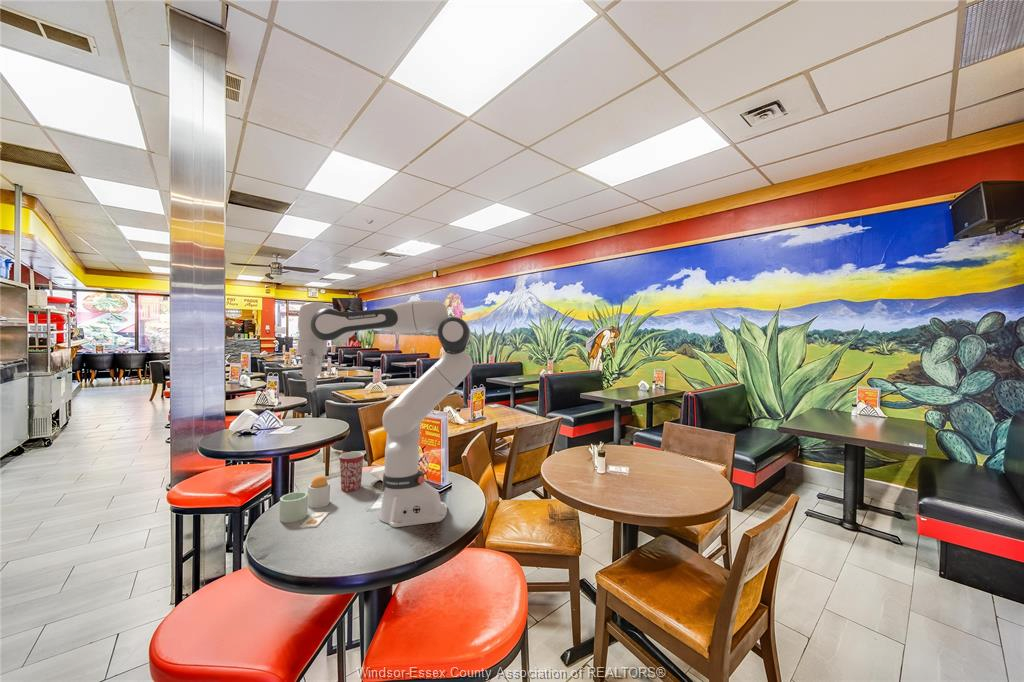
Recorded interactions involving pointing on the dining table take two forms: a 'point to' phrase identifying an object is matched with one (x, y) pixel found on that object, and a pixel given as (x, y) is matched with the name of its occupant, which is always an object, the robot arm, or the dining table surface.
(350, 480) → the mug
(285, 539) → the dining table surface
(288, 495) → the tube green
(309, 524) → the card
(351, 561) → the dining table surface
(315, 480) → the ball orange
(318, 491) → the tube grey
